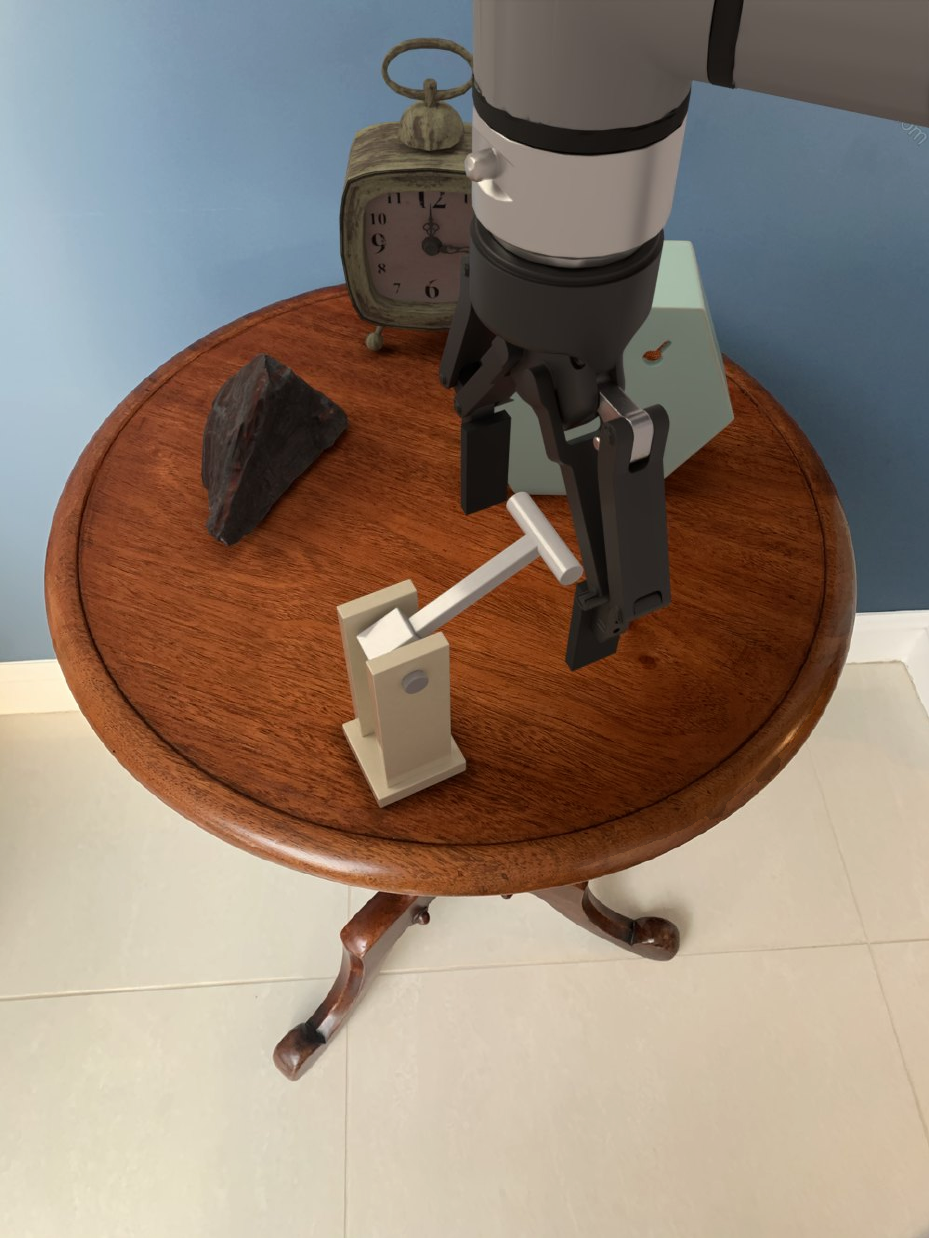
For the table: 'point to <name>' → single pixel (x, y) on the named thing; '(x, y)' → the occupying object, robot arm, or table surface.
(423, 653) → the faucet bracket
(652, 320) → the planter
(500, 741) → the table surface
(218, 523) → the rock
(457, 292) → the tabletop clock
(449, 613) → the faucet handle
